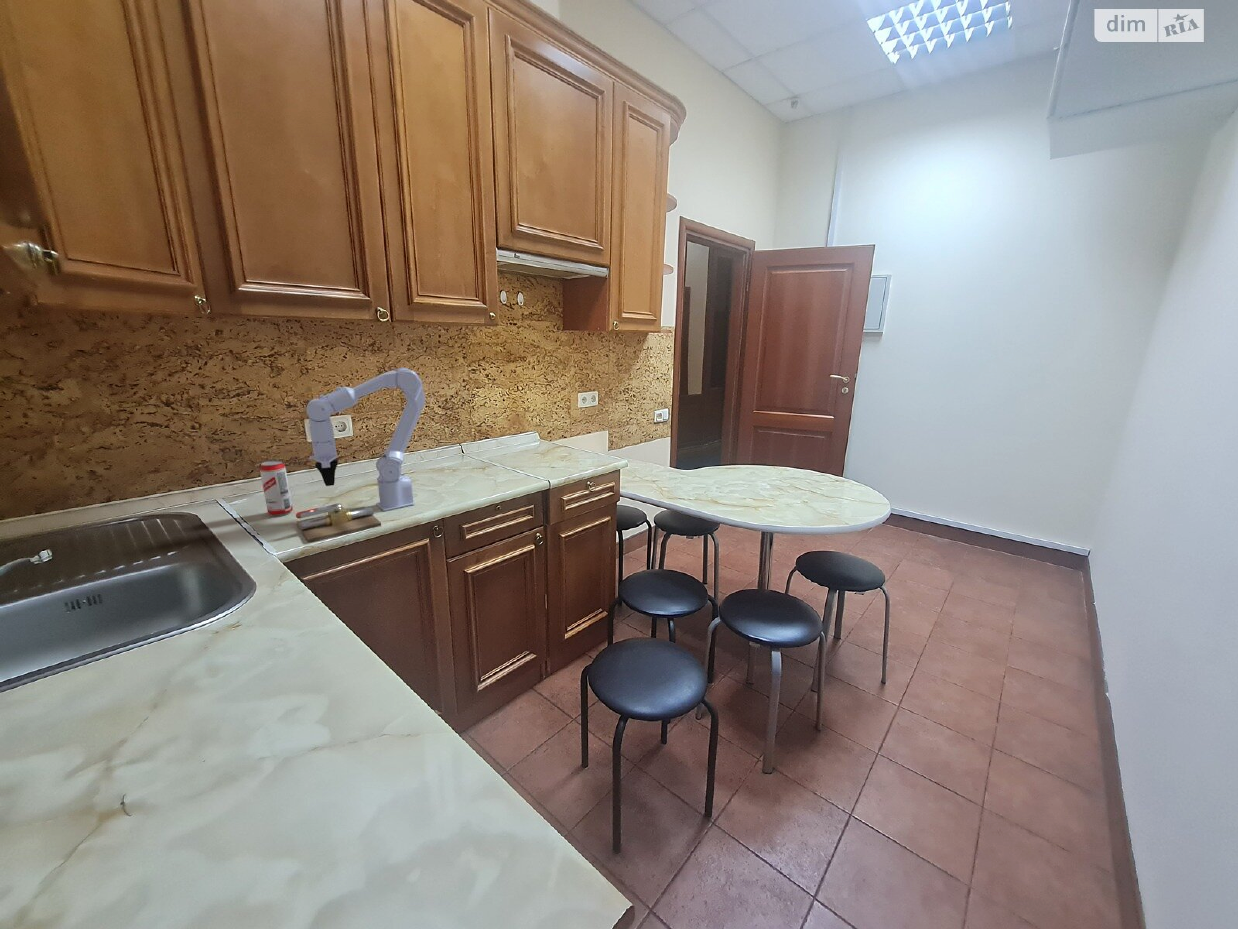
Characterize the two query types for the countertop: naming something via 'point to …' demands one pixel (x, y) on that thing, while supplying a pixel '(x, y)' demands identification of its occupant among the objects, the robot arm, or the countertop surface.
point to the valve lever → (319, 511)
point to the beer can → (276, 488)
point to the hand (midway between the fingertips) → (330, 485)
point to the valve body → (336, 518)
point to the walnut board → (339, 528)
